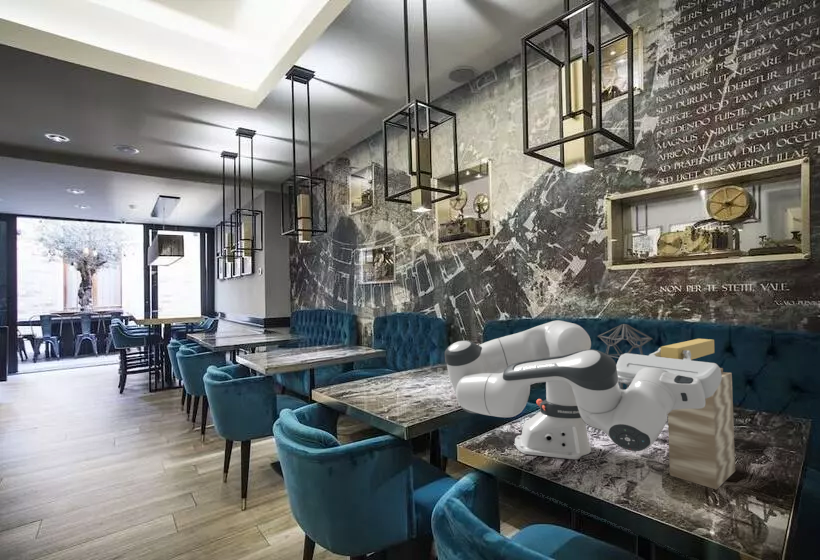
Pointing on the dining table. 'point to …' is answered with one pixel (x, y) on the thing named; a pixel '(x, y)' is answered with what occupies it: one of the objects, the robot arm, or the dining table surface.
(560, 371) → the robot arm
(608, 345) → the geometric lantern
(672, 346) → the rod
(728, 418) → the plinth
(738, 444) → the dining table surface
